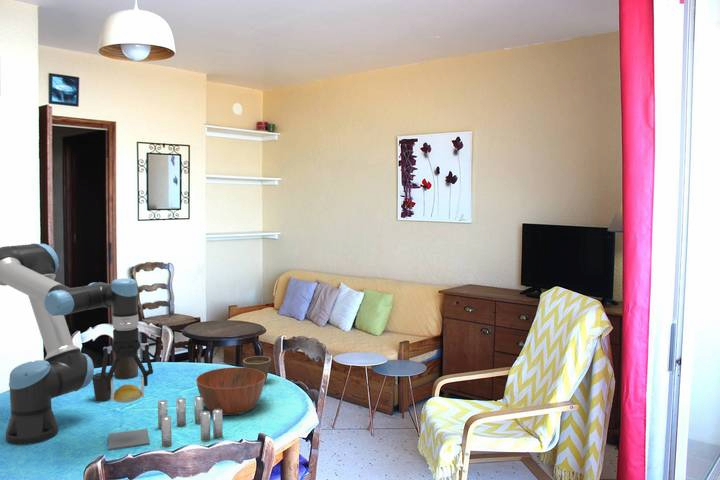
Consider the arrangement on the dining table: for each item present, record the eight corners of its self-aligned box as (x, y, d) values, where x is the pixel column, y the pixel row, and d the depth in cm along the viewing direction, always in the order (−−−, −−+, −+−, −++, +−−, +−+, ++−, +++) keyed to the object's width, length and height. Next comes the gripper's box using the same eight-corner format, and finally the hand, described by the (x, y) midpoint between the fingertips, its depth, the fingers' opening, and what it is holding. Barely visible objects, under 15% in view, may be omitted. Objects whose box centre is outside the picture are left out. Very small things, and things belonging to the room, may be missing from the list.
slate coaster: (108, 450, 189) (108, 448, 189) (108, 435, 200) (108, 433, 200) (149, 444, 193) (149, 442, 193) (147, 430, 204) (147, 428, 204)
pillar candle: (123, 381, 255) (123, 345, 253) (109, 376, 260) (108, 342, 259) (143, 375, 263) (142, 341, 261) (128, 371, 268) (128, 337, 267)
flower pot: (237, 384, 252) (237, 360, 251) (256, 377, 261) (256, 354, 260) (257, 389, 246) (257, 365, 245) (276, 382, 255) (276, 358, 254)
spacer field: (162, 447, 191) (161, 419, 190) (158, 426, 207) (157, 400, 207) (223, 438, 198) (223, 411, 197) (214, 418, 215) (214, 394, 214)
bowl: (183, 407, 225) (182, 377, 224) (239, 391, 243) (238, 363, 242) (222, 426, 208) (222, 393, 207) (279, 407, 226) (279, 377, 225)
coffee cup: (92, 396, 236) (91, 371, 235) (115, 394, 238) (114, 369, 237) (90, 404, 228) (89, 377, 227) (113, 401, 230) (113, 375, 230)
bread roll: (113, 404, 190) (113, 392, 189) (114, 395, 198) (114, 383, 198) (142, 401, 192) (141, 389, 192) (141, 392, 201) (141, 380, 200)
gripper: (88, 333, 186) (91, 406, 188) (161, 327, 194) (163, 397, 196) (89, 328, 193) (92, 398, 195) (159, 322, 200) (161, 390, 203)
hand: (127, 397), depth 195 cm, fingers closed on bread roll, 8 cm apart
